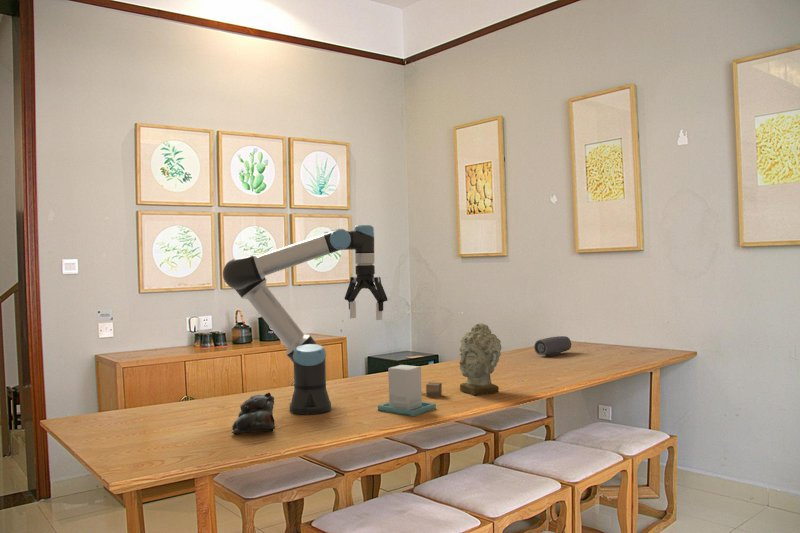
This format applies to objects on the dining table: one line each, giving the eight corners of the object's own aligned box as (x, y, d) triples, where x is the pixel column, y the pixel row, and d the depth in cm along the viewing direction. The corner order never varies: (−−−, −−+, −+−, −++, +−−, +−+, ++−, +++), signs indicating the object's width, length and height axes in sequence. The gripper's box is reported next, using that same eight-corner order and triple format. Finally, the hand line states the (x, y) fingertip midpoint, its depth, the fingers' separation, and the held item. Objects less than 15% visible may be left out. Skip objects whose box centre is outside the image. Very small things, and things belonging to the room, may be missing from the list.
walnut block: (438, 397, 256) (438, 385, 256) (426, 397, 258) (426, 384, 258) (441, 395, 261) (441, 382, 261) (429, 394, 263) (429, 382, 263)
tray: (412, 416, 227) (412, 411, 227) (377, 410, 237) (377, 405, 237) (435, 408, 238) (435, 403, 238) (401, 403, 248) (401, 398, 248)
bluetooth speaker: (558, 352, 370) (558, 334, 370) (572, 353, 363) (572, 335, 362) (533, 356, 355) (533, 338, 355) (547, 358, 348) (547, 339, 348)
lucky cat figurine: (223, 434, 207) (226, 392, 213) (250, 441, 216) (252, 400, 222) (257, 426, 200) (260, 382, 206) (284, 433, 209) (285, 391, 215)
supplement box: (422, 406, 239) (422, 366, 238) (408, 411, 231) (408, 369, 231) (402, 403, 244) (401, 364, 244) (388, 408, 236) (387, 367, 236)
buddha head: (449, 390, 269) (448, 323, 269) (486, 385, 278) (485, 320, 278) (472, 398, 254) (471, 327, 254) (510, 393, 263) (509, 324, 262)
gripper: (395, 264, 249) (396, 319, 250) (347, 264, 265) (348, 316, 265) (383, 264, 243) (384, 321, 244) (335, 265, 259) (336, 318, 259)
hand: (365, 318), depth 254 cm, fingers open, 13 cm apart
